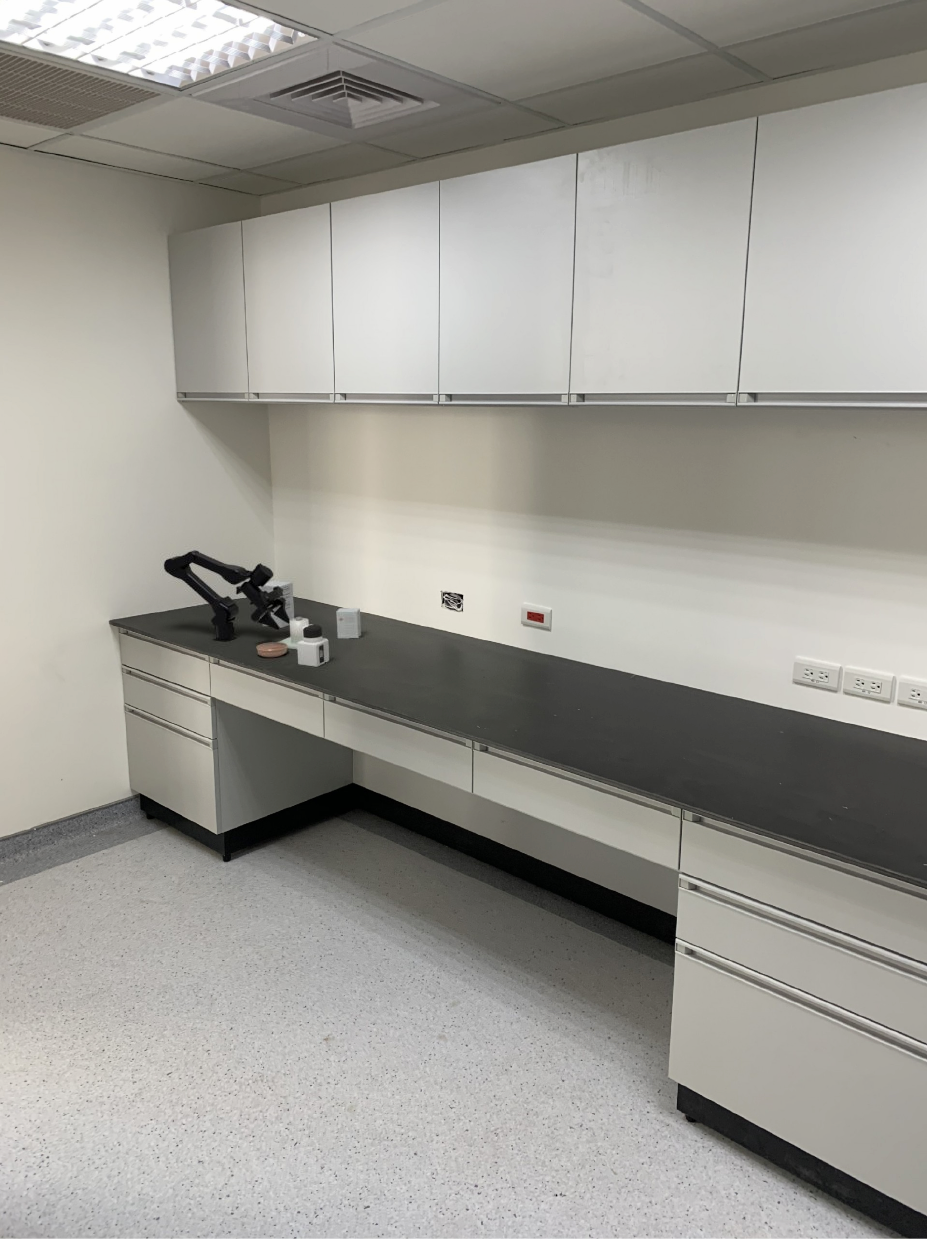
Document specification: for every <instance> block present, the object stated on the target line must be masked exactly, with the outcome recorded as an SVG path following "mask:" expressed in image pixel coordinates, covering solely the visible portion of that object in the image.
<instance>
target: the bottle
mask: <svg viewBox="0 0 927 1239" xmlns="http://www.w3.org/2000/svg"><path fill="white" fill-rule="evenodd" d="M306 625H310V624H309V618H306V617H303V616H295V617H294V619H291V620H290V625H289V634H290V636H289V637H290V638H291V643H295V644H297V643H298V642H300V641H302V640H304V639H303V633H302V628H303V627H304V626H306Z"/></svg>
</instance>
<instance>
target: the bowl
mask: <svg viewBox="0 0 927 1239" xmlns="http://www.w3.org/2000/svg"><path fill="white" fill-rule="evenodd" d="M256 650H257V655H259V656H261V657H264V658H277V657H282V656H283V655H284V654H285V655H286V653H287V651H288V648H287V644H285V643H280V642H279V641H277V642H273V641H272V642H270V641H269V642H263V643H260V644H258V645H257V646H256Z"/></svg>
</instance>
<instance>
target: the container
mask: <svg viewBox="0 0 927 1239" xmlns="http://www.w3.org/2000/svg"><path fill="white" fill-rule="evenodd" d="M302 633H303V639H304V640H302V641H300V642H298V643H297V649H296V651H297V664H298V665H301V666H309V667H314V668H315V667H316V668H317V667H319V666H321V665H324V664H325V662H326V663H327V662H329V661H330V650H329V649H330V648H329V639H327V638H326V639H322V638H323V627H322V626H321V625H320V624H315V623H313V624H311V623H310V624H309V625H306V626H304V627H303V628H302Z"/></svg>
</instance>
